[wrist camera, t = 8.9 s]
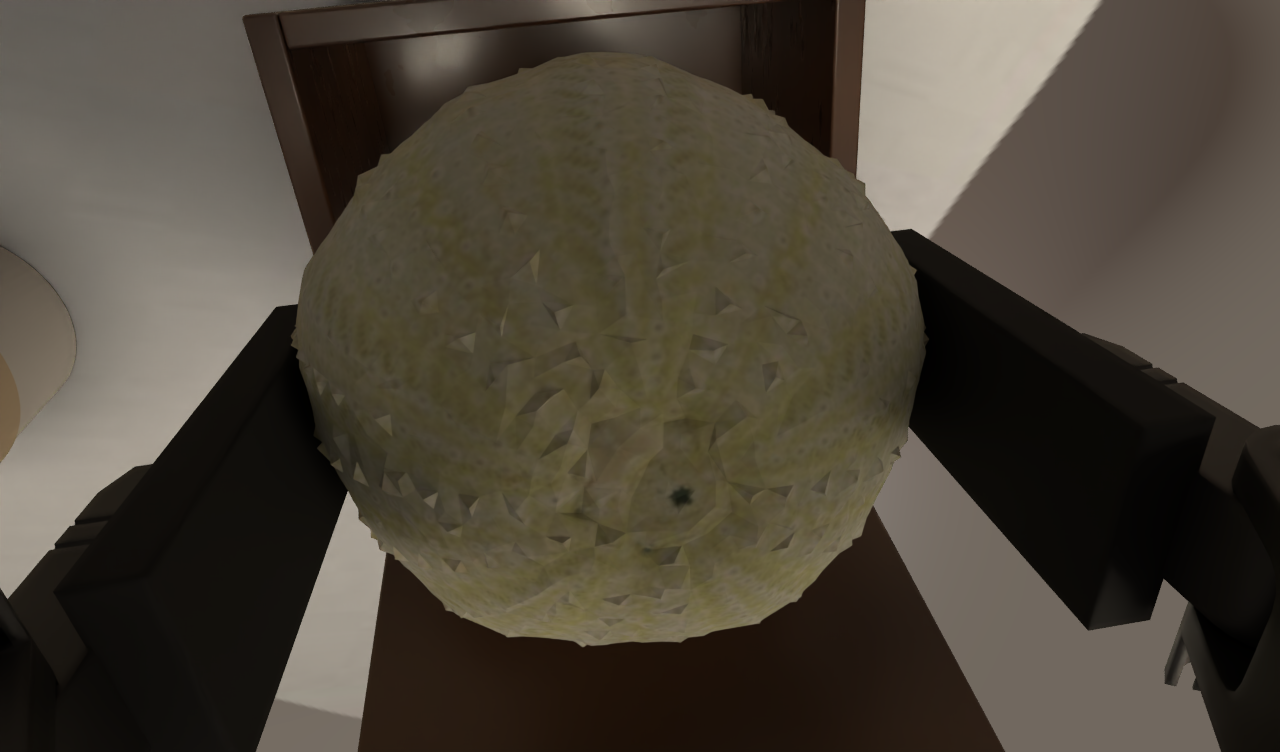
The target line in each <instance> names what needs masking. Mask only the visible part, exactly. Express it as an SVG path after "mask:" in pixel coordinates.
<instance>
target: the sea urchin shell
mask: <svg viewBox="0 0 1280 752" xmlns="http://www.w3.org/2000/svg"><path fill="white" fill-rule="evenodd" d="M916 271H917V270H916V269H914V268H913V267H911V266H910V265H909V263H908V260H907V259H906V257H905V255H904V253H903V251H902V249H901V247H900V246H899V244H898V243H897V242H896V240H895V239H894V237H893V235H892V234H891V232H890V230H889V229H888V227H887V225H886V224H885V222H884V221H883V219H882V218H881V216H880V215H879V214H878V212H877V211H876V209H875V208H874V207H873V205H872V203H871V202H870V201H869V199H868V198H867V197H866V196H865V183H863V182H861V181H859V180H857V179H855V176H854V174H853V173H851V172H848V171H847V170H845V169H844V168H843V167H842V165H841V164H840V162H839V161H838V160H837V159H835V158H829V157H827V156H824V155H823V154H822V153H821V152H820V151H819V150H817V149H816V148H815V147H814V146H812V145H811V144H809V143H808V142H807V141H805V140H804V139H803V138H802V137H800V136H799V135H798V134H797V133H796V132H795V131H794V130H792V129H791V128H790V127H789V126H788V124H787V122H786V119H785V118H784V117H780V116H777V115H775V111H773V110H768V108H767V106H766V104H765V102H764V100H763V99H753V96H752V94H747V95H741V94H739V93H737V92H735V91H733V90H731V89H729V88H727V87H725V86H722V85H720V84H717V83H715V82H712V81H710V80H707V79H704V78H701V77H698V76H695V75H693V74H691V73H688V72H686V71H684V70H682V69H679V68H677V67H675V66H673V65H670V64H668V63H666V62H663V61H660V60H658V59H656V58H655V57H653V56H646V55H637V54H629V53H615V52H585V53H579V54H575V55H570V56H566V57H557V58H555V59H552V60H550V61H548V62H546V63H543V64H541V65H539V66H537V67H535V68H519V71H518V74H515V75H512V76H509V77H506V78H503V79H500V80H497V81H493V82H490V83H485V84H480V85H474V86H469V87H467V88H466V90H465V91H464V93H463V94H462V95H460V96H458V97H456V98H454V99H452V100H450V101H448V102H446V103H444V104H443V106H442V107H441V108H440V109H439V110H438V111H437V112H436V113H435V114H434V115H433V116H432V117H431V119H429V120H428V121H427V122H425V123H424V124H423V125H422V126H421V127H420V128H419V129H418V130H417V131H416V132H415V133H414V134H413V135H412V136H411V137H409V138H408V139H406V140H405V141H404V142H402V143H401V144H400V145H399V146H398V147H397V148H396V149H395V150H394V151H393V152H392V153H391V154H383V155H381V157H380V160H379V163H378V166H377V167H375V168H373V169H371V170H369V171H367V172H364V173H362V174H360V175H358V179H357V186H356V188H355V193H354V196H353V197H352V199H351V200H350V202H349V203H348V205H347V206H346V208H345V210H344V211H343V213H342V214H341V216H340V217H339V218H338V220H337V221H336V223H335V225H334V226H333V228H332V230H331V231H330V233H329V234H328V236H327V237H326V238H325V240H324V241H323V242H322V243H321V245H320V246H319V248H318V249H317V251H316V252H315V254H314V255H313V257H312V259H311V260H310V262H309V263H308V265H307V266H306V268H305V270H304V274H303V278H302V283H301V289H300V295H299V302H298V310H297V318H296V325H295V327H296V329H295V330H294V332H293V333H292V335H291V338H292V339H293V342H292V344H291V346H293V347H294V348H296V349H298V353H297V355H296V358H297V359H299V368H300V371H301V374H302V377H303V379H304V382H305V385H306V387H307V391H308V395H309V399H310V402H311V406H312V410H313V416H314V422H315V430H314V435H313V436H314V437H316V438H317V439H319V440H320V441H321V442H322V443H321V444H320V445H319V446H318V448H317V449H318V450H319V451H320V452H321V453H322V454H323V455H324V456H325V457H326V458H327V459H328V460H329V461H330V465H332V466H333V467H334V468H335V470H336V472H337V474H338V476H339V477H340V479H341V481H342V482H343V484H344V485H345V487H346V488H347V490H348V491H349V493H350V495H351V497H352V499H353V501H354V503H355V504H356V506H357V507H358V511H359V520H360V521H362V522H363V523H364V524H365V525H366V526H368V527H369V528H370V529H371V538H374V539H376V540H378V544H379V549H380V550H382V551H384V552H387V553H390V554H393V555H394V556H395V560H399V561H400V562H401V563H402V564H403V565H404V566H405V567H406V568H407V569H409V570H410V571H411V572H412V573H413V574H414V575H415V576H416V577H417V578H418V579H419V580H420V581H421V582H422V583H423V584H424V585H425V586H426V587H427V588H428V590H429V591H430V592H431V593H432V594H433V595H435V596H436V597H437V598H438V599H439V600H440V601H442V602H443V605H444V608H445V610H446V611H452V612H454V613H455V614H456V615H459V616H460V618H463V617H464V618H466V619H468V620H471V621H473V622H475V623H478V624H480V625H483V626H485V627H487V628H490V629H492V630H494V631H496V632H499V633H501V634H503V635H505V636H506V637H518V636H525V637H541V638H551V639H561V640H569V641H574V642H576V643H578V644H579V645H580V646H582V647H584V646H586V645H590V646H595V645H608V644H613V643H623V642H632V641H634V642H642V643H643V642H662V641H663V642H679V643H681V642H682V641H684V640H685V639H687V638H688V637H698V636H704V635H706V634H708V633H710V632H713V631H718V630H723V629H729V628H735V627H741V626H746V625H752V624H760V622H761V620H763V619H764V618H766V617H768V616H769V615H771V614H772V613H774V612H776V611H777V610H779V609H781V608H782V607H784V606H785V605H787V604H788V603H790V602H797V600H798V599H799V598H800V597H802V593H803V591H804V590H805V589H806V588H807V587H808V586H810V585H811V584H812V583H813V582H814V581H815V580H816V579H817V577H818V576H819V575H820V573H821V572H822V571H823V570H824V569H825V568H826V567H827V566H828V564H829V563H830V562H831V561H832V560H833V559H834V558H835V557H836V556H837V555H838V554H839V553H841V552H842V551H844V550H846V549H847V548H849V547H851V546H852V540H853V539H855V538H858V537H860V536H861V535H862V532H863V528H864V525H865V522H866V518H867V516H868V514H869V513H870V511H871V508H872V506H873V504H874V502H875V500H876V498H877V496H878V494H879V492H880V490H881V488H882V486H883V484H884V483H885V481H886V479H887V477H888V475H889V473H890V471H891V469H892V466H893V463H894V461H896V460H897V459H899V458H900V457H901V455H900V452H899V451H900V449H901V448H902V447H903V445H904V444H905V443H906V442H907V440H908V427H909V425H910V424H909V419H910V415H911V412H912V409H913V404H914V399H915V393H916V389H917V385H918V383H919V379H920V375H921V371H922V367H923V363H924V359H925V355H926V349H925V346H926V344H927V342H928V341H929V338H928V337H927V335H926V334H925V333H924V331H925V329H926V326H925V324H924V319H923V314H922V309H921V305H920V301H919V297H918V287H917V281H916V279H915V276H914V275H915V273H916Z"/></svg>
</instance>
